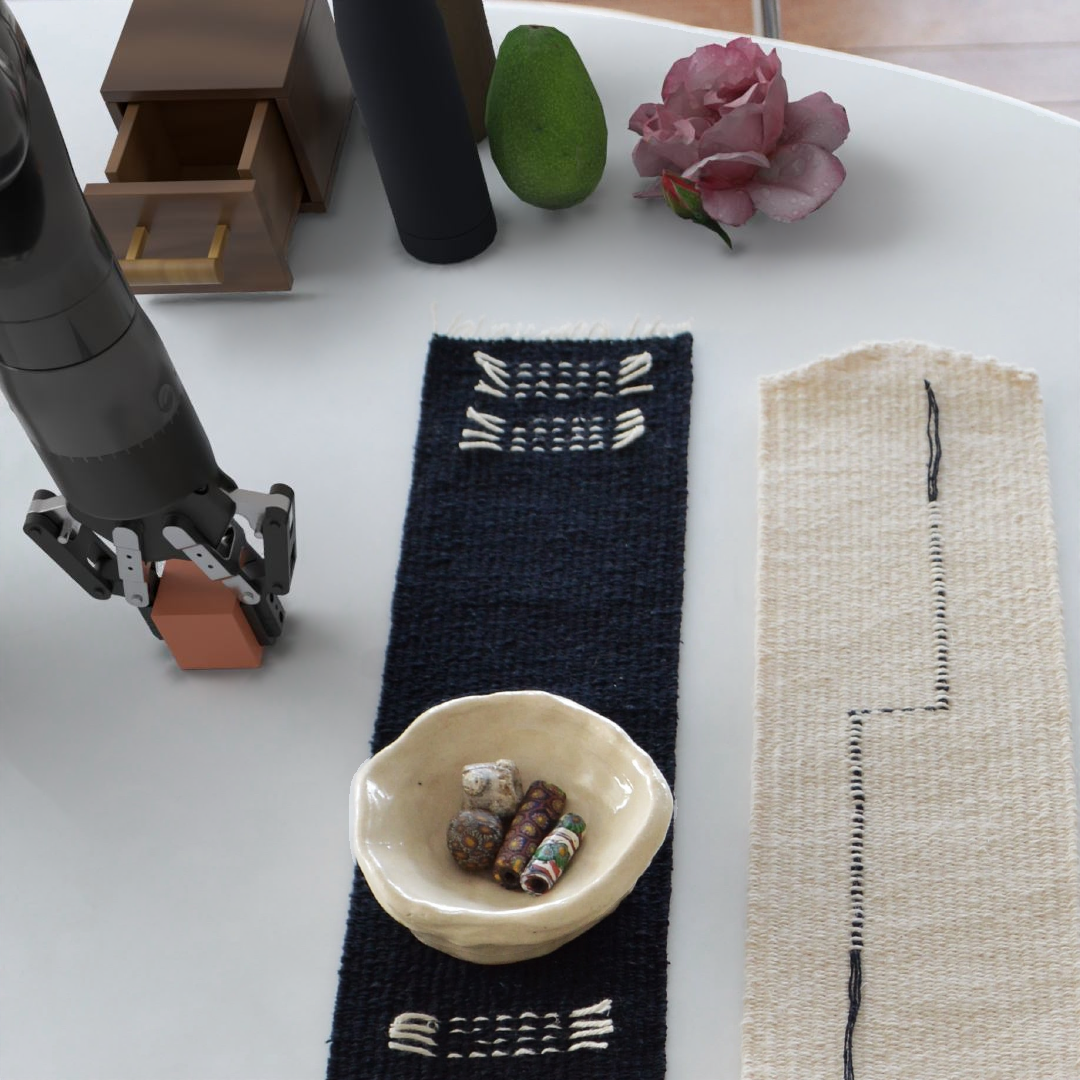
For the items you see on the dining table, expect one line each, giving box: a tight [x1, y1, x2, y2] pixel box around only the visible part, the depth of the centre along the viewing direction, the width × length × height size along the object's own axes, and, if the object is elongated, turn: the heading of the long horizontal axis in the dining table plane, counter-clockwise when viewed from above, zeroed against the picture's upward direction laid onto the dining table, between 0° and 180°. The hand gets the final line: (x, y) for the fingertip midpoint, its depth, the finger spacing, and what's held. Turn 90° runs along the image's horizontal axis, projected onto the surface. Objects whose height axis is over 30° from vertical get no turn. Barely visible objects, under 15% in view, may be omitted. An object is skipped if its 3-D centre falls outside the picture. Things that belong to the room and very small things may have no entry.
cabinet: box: [99, 0, 356, 214], centre depth 118 cm, size 14×12×9 cm
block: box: [151, 559, 266, 670], centre depth 97 cm, size 4×4×4 cm
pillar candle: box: [437, 0, 497, 144], centre depth 118 cm, size 10×10×15 cm
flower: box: [627, 36, 851, 252], centre depth 115 cm, size 15×15×10 cm
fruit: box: [485, 24, 609, 211], centre depth 114 cm, size 8×8×12 cm
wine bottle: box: [331, 0, 498, 265], centre depth 104 cm, size 6×6×30 cm
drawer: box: [82, 98, 305, 296], centre depth 112 cm, size 17×10×7 cm, turn 2°
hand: (225, 634), depth 99 cm, fingers closed on block, 4 cm apart
